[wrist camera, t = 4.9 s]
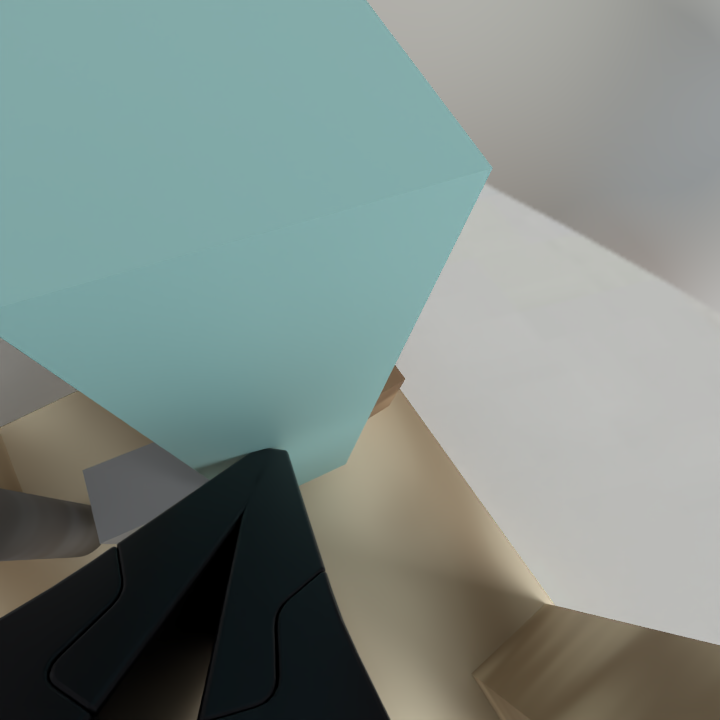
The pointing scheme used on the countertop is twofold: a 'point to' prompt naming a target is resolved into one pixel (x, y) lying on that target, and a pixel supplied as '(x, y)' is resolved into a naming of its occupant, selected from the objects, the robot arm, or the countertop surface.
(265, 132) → the folding leg
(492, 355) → the countertop surface
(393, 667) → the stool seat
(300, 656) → the robot arm
